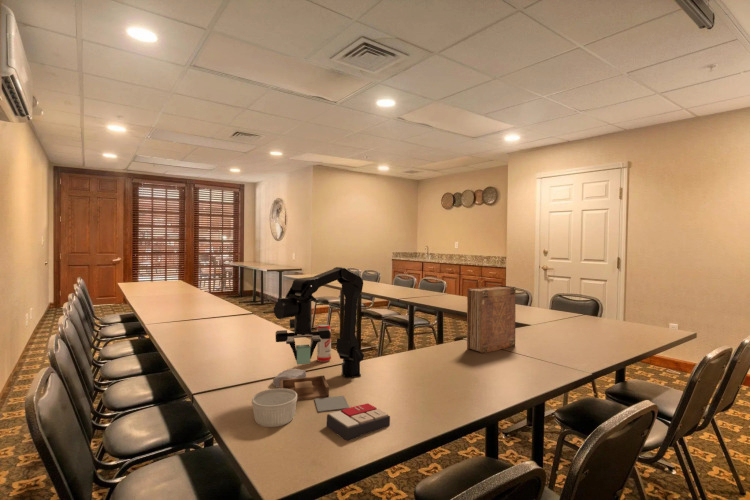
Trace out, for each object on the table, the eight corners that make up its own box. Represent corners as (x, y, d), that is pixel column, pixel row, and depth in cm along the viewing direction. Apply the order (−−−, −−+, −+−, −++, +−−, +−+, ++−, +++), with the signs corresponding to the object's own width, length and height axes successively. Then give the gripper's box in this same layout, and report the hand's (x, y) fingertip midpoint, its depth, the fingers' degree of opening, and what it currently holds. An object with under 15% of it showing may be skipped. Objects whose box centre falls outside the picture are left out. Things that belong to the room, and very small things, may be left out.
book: (481, 353, 185) (481, 290, 184) (466, 349, 192) (466, 288, 192) (515, 345, 199) (515, 287, 198) (500, 342, 206) (500, 285, 206)
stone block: (271, 391, 144) (296, 388, 142) (269, 378, 144) (294, 375, 142) (285, 381, 155) (308, 378, 153) (282, 369, 156) (306, 366, 154)
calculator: (390, 413, 113) (347, 425, 104) (390, 428, 113) (346, 442, 104) (368, 401, 122) (326, 411, 113) (367, 415, 122) (325, 426, 112)
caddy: (324, 384, 145) (324, 375, 145) (328, 397, 133) (328, 387, 133) (279, 389, 141) (279, 379, 141) (280, 402, 129) (280, 391, 129)
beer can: (333, 359, 177) (333, 324, 177) (327, 363, 171) (327, 326, 171) (320, 357, 179) (320, 323, 179) (314, 361, 173) (314, 325, 173)
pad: (343, 396, 134) (343, 395, 134) (349, 408, 124) (349, 407, 124) (314, 399, 131) (314, 398, 131) (318, 412, 121) (318, 411, 121)
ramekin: (287, 431, 109) (286, 407, 109) (243, 427, 112) (243, 403, 112) (303, 411, 122) (303, 389, 122) (264, 408, 125) (264, 386, 125)
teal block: (309, 359, 140) (309, 344, 139) (310, 363, 135) (310, 347, 135) (296, 360, 138) (296, 345, 138) (297, 364, 134) (297, 348, 134)
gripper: (326, 309, 147) (326, 351, 147) (275, 312, 142) (275, 354, 142) (330, 315, 136) (331, 359, 136) (275, 317, 131) (275, 364, 131)
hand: (303, 359), depth 137 cm, fingers closed on teal block, 4 cm apart
